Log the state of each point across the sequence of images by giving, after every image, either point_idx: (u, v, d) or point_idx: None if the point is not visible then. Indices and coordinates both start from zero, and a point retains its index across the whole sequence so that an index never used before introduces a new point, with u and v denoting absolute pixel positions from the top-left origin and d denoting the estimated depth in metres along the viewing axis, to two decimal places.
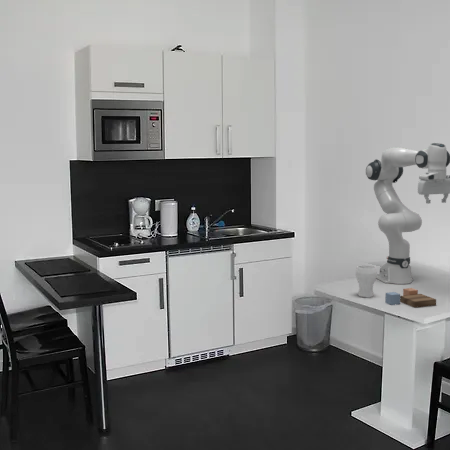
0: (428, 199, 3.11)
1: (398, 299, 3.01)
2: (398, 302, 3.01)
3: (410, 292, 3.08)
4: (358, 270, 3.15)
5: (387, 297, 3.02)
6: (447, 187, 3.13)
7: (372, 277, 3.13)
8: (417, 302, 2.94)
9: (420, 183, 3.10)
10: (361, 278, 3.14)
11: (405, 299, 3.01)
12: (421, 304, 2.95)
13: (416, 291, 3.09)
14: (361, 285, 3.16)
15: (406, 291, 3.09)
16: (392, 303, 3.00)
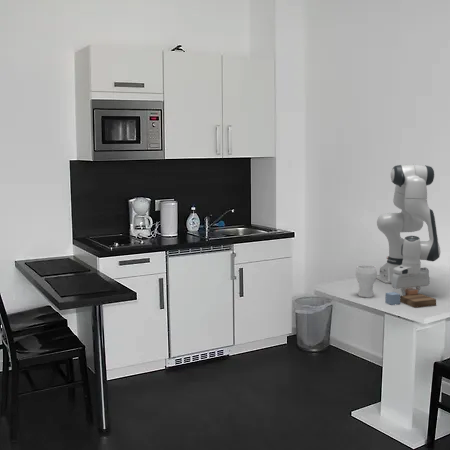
0: (405, 292, 3.08)
1: (398, 299, 3.01)
2: (398, 302, 3.01)
3: (410, 292, 3.07)
4: (358, 270, 3.15)
5: (387, 297, 3.02)
6: (422, 280, 3.10)
7: (372, 277, 3.13)
8: (417, 302, 2.94)
9: (394, 277, 3.07)
10: (361, 278, 3.14)
11: (405, 299, 3.01)
12: (421, 304, 2.95)
13: (416, 291, 3.09)
14: (361, 285, 3.16)
15: (406, 291, 3.09)
16: (392, 303, 3.00)
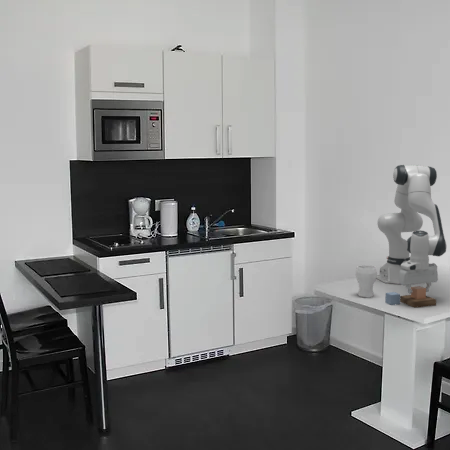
0: (410, 289, 2.98)
1: (398, 299, 3.01)
2: (398, 302, 3.01)
3: (418, 290, 2.98)
4: (358, 270, 3.15)
5: (387, 297, 3.02)
6: (430, 276, 3.00)
7: (372, 277, 3.13)
8: (417, 302, 2.94)
9: (401, 273, 2.97)
10: (361, 278, 3.14)
11: (405, 299, 3.01)
12: (421, 304, 2.95)
13: (424, 289, 2.99)
14: (361, 285, 3.16)
15: (414, 289, 3.00)
16: (392, 303, 3.00)
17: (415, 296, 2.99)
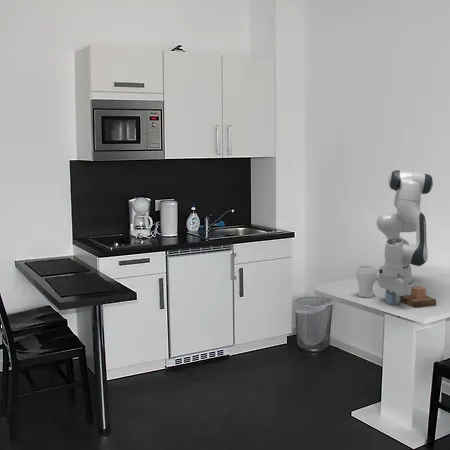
0: None
1: None
2: (398, 302, 3.01)
3: (418, 290, 2.98)
4: (358, 270, 3.15)
5: (387, 296, 3.02)
6: (396, 287, 2.96)
7: (372, 277, 3.13)
8: (417, 302, 2.94)
9: None
10: (361, 278, 3.14)
11: (405, 299, 3.01)
12: (421, 304, 2.95)
13: (424, 289, 2.99)
14: (361, 285, 3.16)
15: (414, 289, 3.00)
16: (392, 303, 3.00)
17: (415, 296, 2.99)
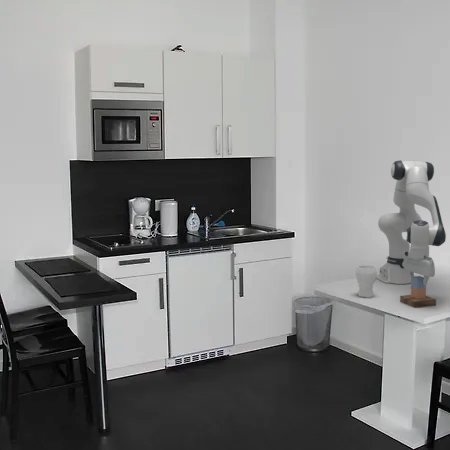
0: (410, 276, 3.05)
1: None
2: (424, 286, 2.99)
3: (418, 290, 2.98)
4: (358, 270, 3.15)
5: (413, 281, 3.00)
6: (422, 269, 2.94)
7: (372, 277, 3.13)
8: (417, 302, 2.94)
9: None
10: (361, 278, 3.14)
11: (405, 299, 3.01)
12: (421, 304, 2.95)
13: (424, 289, 2.99)
14: (361, 285, 3.16)
15: (414, 289, 3.00)
16: (418, 287, 2.98)
17: (415, 296, 2.99)
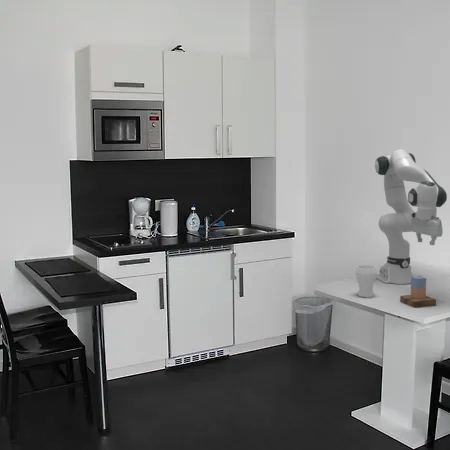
0: (417, 237, 3.06)
1: (424, 283, 2.99)
2: (424, 286, 2.99)
3: (418, 290, 2.98)
4: (358, 270, 3.15)
5: (413, 281, 3.00)
6: (430, 229, 2.95)
7: (372, 277, 3.13)
8: (417, 302, 2.94)
9: None
10: (361, 278, 3.14)
11: (405, 299, 3.01)
12: (421, 304, 2.95)
13: (424, 289, 2.99)
14: (361, 285, 3.16)
15: (414, 289, 3.00)
16: (418, 287, 2.98)
17: (415, 296, 2.99)
